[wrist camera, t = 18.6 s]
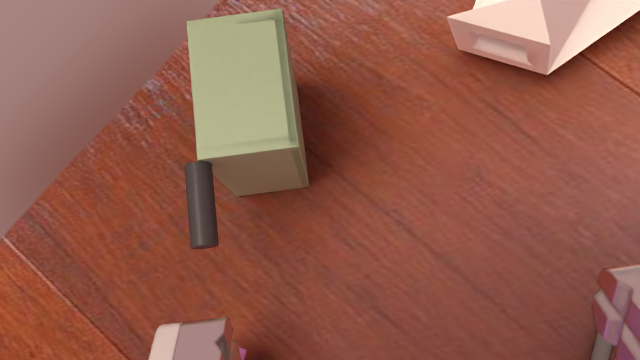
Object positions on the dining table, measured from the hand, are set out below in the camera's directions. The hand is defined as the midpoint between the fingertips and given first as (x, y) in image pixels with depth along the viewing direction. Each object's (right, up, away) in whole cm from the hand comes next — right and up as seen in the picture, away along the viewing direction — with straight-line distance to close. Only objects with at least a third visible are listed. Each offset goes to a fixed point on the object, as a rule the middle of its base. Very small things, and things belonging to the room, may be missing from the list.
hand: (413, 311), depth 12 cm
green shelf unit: (-7, +4, +31) cm, 32 cm away
